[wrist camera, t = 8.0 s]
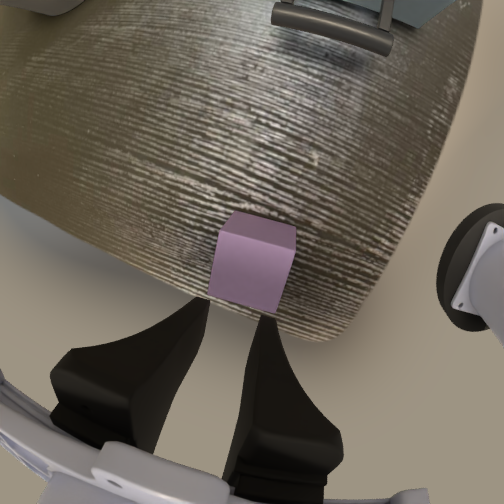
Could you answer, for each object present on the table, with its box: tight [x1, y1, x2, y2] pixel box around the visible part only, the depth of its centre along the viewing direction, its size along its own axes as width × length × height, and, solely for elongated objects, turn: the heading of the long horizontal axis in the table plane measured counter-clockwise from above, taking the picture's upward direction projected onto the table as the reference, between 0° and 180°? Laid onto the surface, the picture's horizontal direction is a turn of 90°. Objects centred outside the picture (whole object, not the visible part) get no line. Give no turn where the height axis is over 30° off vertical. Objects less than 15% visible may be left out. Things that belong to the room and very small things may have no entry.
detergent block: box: [207, 211, 296, 313], centre depth 19 cm, size 4×4×4 cm
